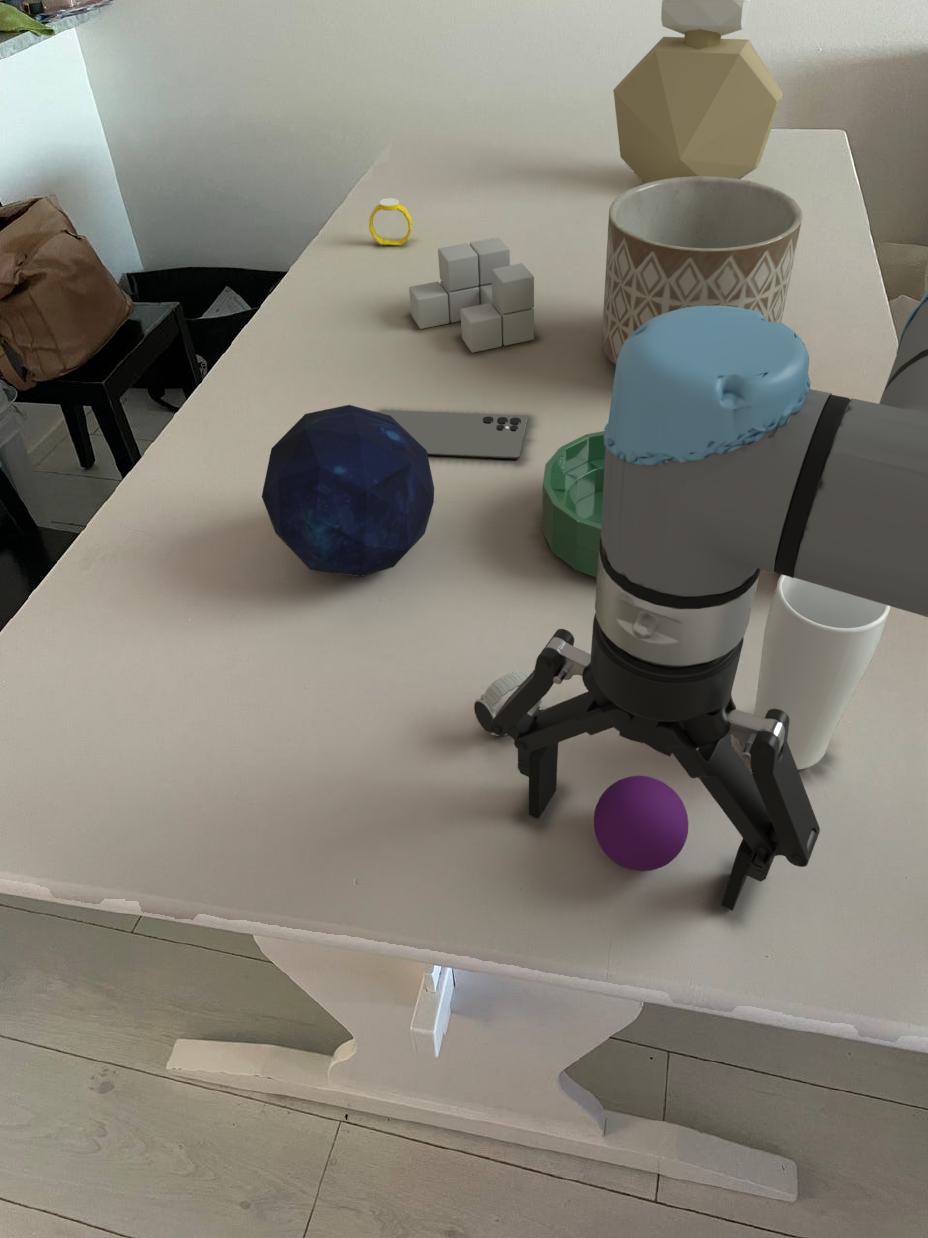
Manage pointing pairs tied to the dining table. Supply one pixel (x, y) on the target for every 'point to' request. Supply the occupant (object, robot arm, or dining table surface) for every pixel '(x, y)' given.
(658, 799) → the ball
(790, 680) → the drinking glass
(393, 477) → the decorative orb
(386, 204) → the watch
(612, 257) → the planter
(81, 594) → the dining table surface
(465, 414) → the smartphone
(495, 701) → the wristwatch
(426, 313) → the puzzle cube
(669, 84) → the vase
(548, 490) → the bowl
